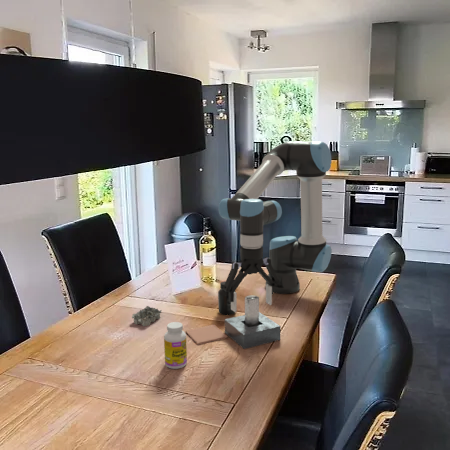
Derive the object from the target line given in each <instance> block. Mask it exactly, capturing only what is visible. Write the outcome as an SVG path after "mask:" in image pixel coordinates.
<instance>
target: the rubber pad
mask: <svg viewBox="0 0 450 450" xmlns="http://www.w3.org/2000/svg"><path fill="white" fill-rule="evenodd" d="M185 334H186V335H188V337H190V338H191V339H192V340H193V341H194V343H196V344H197V345H203V344H206V343H210V342H211V343H212V342H215V341H219V340H224V339H228V335H227V334H226V333H225V332H223V331H222V330H221V329H220V328H218V326H216V324H210V325H209V324H208V325H205V326H201V327H195V328H191V329H187V330H186V329H185Z"/></svg>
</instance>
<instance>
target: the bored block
mask: <svg viewBox="0 0 450 450" xmlns="http://www.w3.org/2000/svg"><path fill="white" fill-rule="evenodd" d="M224 334H225V335H227V337H229V338H230V339H231V340H232V341H234V342H235V343H236V344H237V345H239V346H240V347H241V348H242V349H244V350H246V349H250V348H255V347H257V346H261V345H265V344H270V343H273V341H274V342H278V341H281V325H279V324H278V323H276V322H275V321H274V320H272V319H270V318H269V317H268V316H266V315H264V314H263V313H261V312H260V311H259V325H258V326H253V327H247V326H246V325H245V314H244V315H238V316H234V317H229V318H225V319H224ZM277 340H278V341H277Z"/></svg>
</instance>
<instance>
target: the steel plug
mask: <svg viewBox="0 0 450 450" xmlns="http://www.w3.org/2000/svg"><path fill="white" fill-rule="evenodd" d="M259 312H260V297H259V296H257V295H251V294H250V295H246V296H245V297H244V315H245V325H246V326H247V327H253V326H258V325H259Z"/></svg>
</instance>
